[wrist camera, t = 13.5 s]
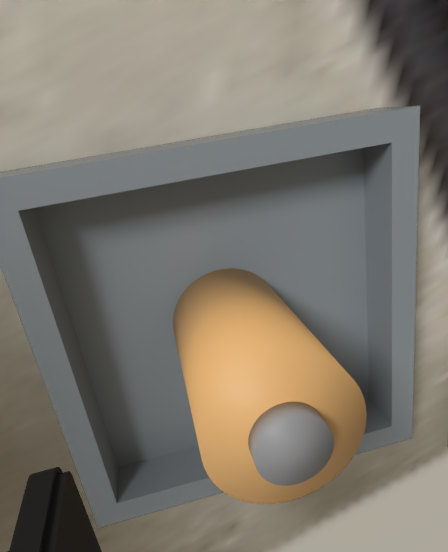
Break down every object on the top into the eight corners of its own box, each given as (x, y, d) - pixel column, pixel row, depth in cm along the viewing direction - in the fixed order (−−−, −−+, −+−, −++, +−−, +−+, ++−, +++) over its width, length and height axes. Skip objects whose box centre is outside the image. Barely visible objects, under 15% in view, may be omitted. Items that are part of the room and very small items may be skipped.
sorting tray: (-4, 172, 14) (-31, 182, 12) (378, 107, 16) (419, 105, 14) (102, 479, 19) (98, 528, 17) (381, 403, 21) (412, 438, 19)
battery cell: (163, 280, 16) (190, 398, 9) (273, 258, 17) (378, 352, 10) (182, 378, 18) (218, 543, 10) (283, 354, 18) (379, 495, 11)
